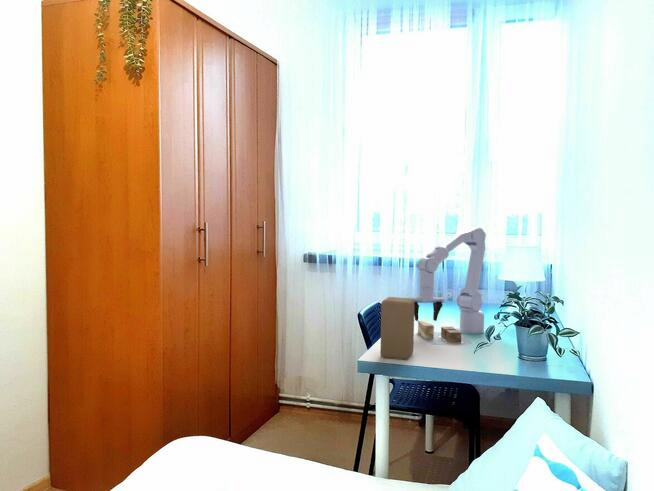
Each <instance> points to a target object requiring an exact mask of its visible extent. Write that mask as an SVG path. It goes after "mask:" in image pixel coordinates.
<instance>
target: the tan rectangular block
mask: <svg viewBox="0 0 654 491" xmlns="http://www.w3.org/2000/svg"><path fill="white" fill-rule="evenodd" d="M434 328H435V325H434V324H432V323H430V322H429V321H427V320H418V321H417V334H418V333H419V334H420V335H421V338H423V337H424V338H425V339H426V338H434V332H435V329H434ZM419 334H418V335H419ZM420 335H419V336H420ZM424 338H423V339H424ZM425 339H424V340H425Z"/></svg>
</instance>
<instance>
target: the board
mask: <svg viewBox="0 0 654 491" xmlns="http://www.w3.org/2000/svg"><path fill="white" fill-rule="evenodd" d="M417 334H418V335H419V336H421V335H420V334H419V333H418V332H417ZM421 337H422V336H421ZM422 338H423V339H424V340H425V341H426V342H428V343H429V344H431V345H433V346H434V345H473V343H472V342H470V341H469V340H468V339H466V338H465V337H462V336H461V343H449V342H448V341H446V339H444V338H442V337H441V331H439V332H438V331H436V332H435V331H434V338H426V339H425V338H424V337H422Z"/></svg>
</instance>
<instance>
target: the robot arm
mask: <svg viewBox="0 0 654 491" xmlns="http://www.w3.org/2000/svg"><path fill="white" fill-rule="evenodd" d="M486 236H487V234H486V232H485V231H484V229H483V228H482V227H480V226H479V227H473V226H472V227H470V226H462V227H461V228H460V229H458V230H457V232H456V233H455V234H454V235H453V236H452V237H451V238H450V239H449V240H448V241H447V242H446V243H445V244H443V245H436V246H434V247H435V248H434V249H433V250H432V251H431V252H429V253H428V254H426V256H422V257H421V258H420V259H419V260H418V262H417V263H416V267H417V269H418V271H419V272H418V273H419V293H418V294H419V295H418V296H416V297H411V298H412V299H414V301H415V304H414V321H415V322H418V321H419V310H420V305H419V304H422V303H423V304H424V303H425V304H427V303H429V304H432V307H433V315H432V318H433V319H432V320H433V321H434V322H436V321H437V320H438V316H439V314H440V311H441V309H442V308H443V304H445V301H446V300H445V299H446V298H445V297H438V296H435V292H434V289H435V272H436V271H437V270H438V268H439V265H440V264H441V263H442V262H444V261H445V260H446V259H447V258H448V257H449V255H450V253H451V251H453V250H454V249H455V248H457V247H458V246H460V245H461V244H465V245H467V246H468V247H469V249H470V256H469V262H468V267H467V273H466V278H465V282H464V284H465V285H464V287H463V288H461V289H460V291H459V294H458V296H457V298H456V305H457V306H458V307H459V328H458V327H457V328H455V329H456V330H458V331H460V332H461V334H483V333H484V334H485V315H484V314H485V313H484V311H482V310H481V308H482V306H483V299H482V298H483V294H482V292H481V290H480V289H479V286H480V280H481V275H482V269H483V264H484V258H485V253H486Z"/></svg>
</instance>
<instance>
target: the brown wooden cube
mask: <svg viewBox="0 0 654 491" xmlns="http://www.w3.org/2000/svg"><path fill="white" fill-rule="evenodd" d="M440 329H441V330H440V332H441V337H442V338H444V339H446V330H457V329H456V328H455V327H453V326H441V327H440Z"/></svg>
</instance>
